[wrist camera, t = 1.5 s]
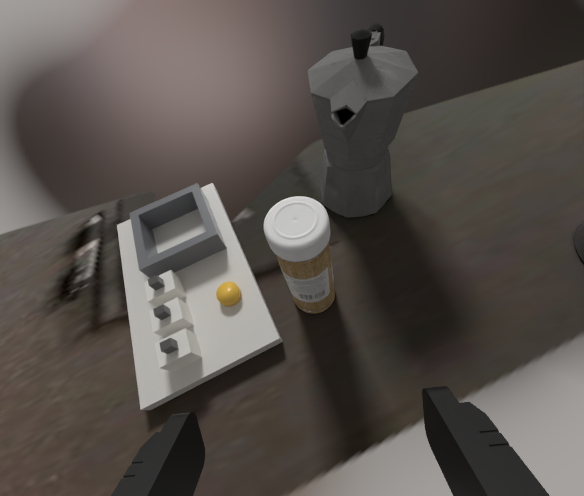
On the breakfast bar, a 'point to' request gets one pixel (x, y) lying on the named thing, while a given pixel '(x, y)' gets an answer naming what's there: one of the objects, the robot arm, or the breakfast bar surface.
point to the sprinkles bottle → (303, 250)
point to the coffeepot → (360, 119)
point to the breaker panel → (189, 295)
